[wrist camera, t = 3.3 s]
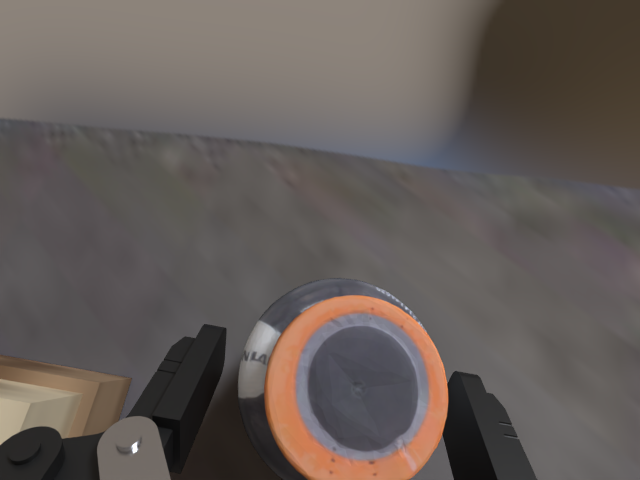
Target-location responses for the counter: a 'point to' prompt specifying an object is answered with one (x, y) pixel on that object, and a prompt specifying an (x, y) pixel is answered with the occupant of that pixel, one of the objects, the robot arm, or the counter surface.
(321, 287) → the pill bottle
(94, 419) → the tower base
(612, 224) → the counter surface
